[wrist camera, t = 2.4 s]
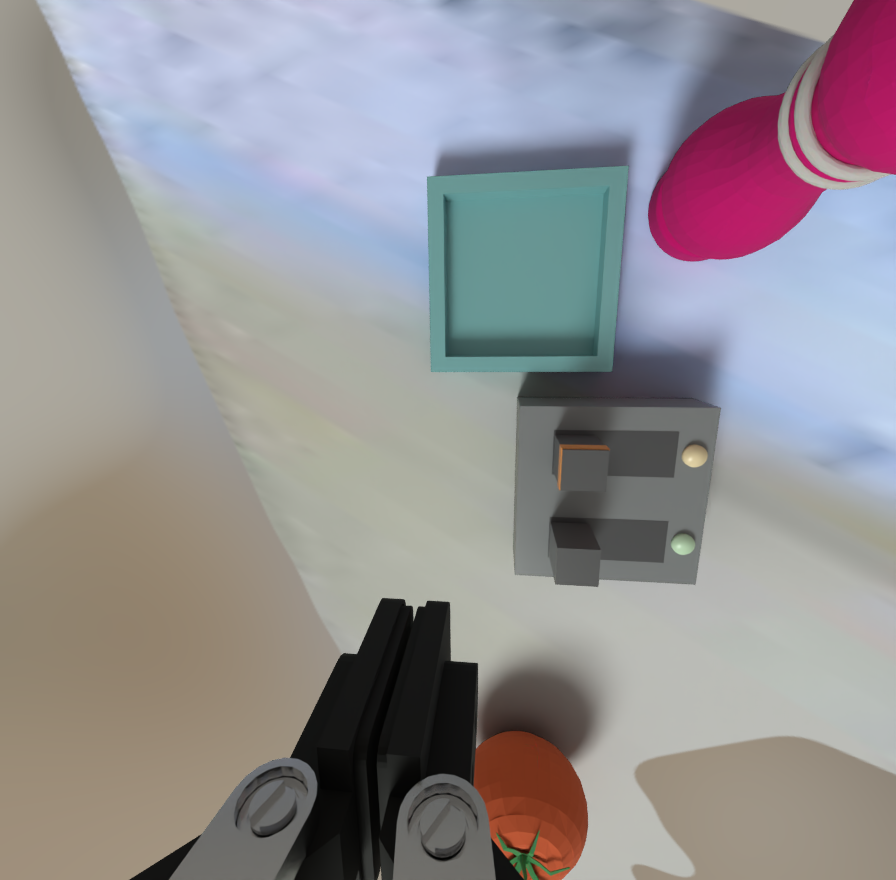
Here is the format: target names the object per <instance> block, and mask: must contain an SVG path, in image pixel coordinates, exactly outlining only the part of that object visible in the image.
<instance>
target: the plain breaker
mask: <svg viewBox="0 0 896 880" xmlns="http://www.w3.org/2000/svg"><path fill="white" fill-rule="evenodd" d="M549 558H550V562H551V567H552V571H553V576H554V580H555V584H559V585H577V586H594V587H598V584H599V572H600V560H601V548H600V546H599V544H598V542H597V540H596V538H595V536H594V533H593V531H592V529H591V527H590V525H589V524H585V523H560V522H550V542H549Z"/></svg>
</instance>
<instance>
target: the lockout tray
mask: <svg viewBox="0 0 896 880" xmlns="http://www.w3.org/2000/svg"><path fill="white" fill-rule="evenodd" d="M628 169H629V166H614V167H596V168H578V169H559V170H541V171H523V172H504V173H486V174H468V175H450V176H431V177H427V197H428V247H429V297H430V347H431V372H612V367H613V355H614V343H615V330H616V318H617V305H618V293H619V280H620V268H621V256H622V243H623V231H624V218H625V206H626V193H627V181H628Z"/></svg>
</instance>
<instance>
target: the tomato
mask: <svg viewBox="0 0 896 880" xmlns="http://www.w3.org/2000/svg"><path fill="white" fill-rule="evenodd" d="M474 788H476V789H477V791H478V792H479V794H480V796H481V797H482V799H483V801H484V802H485V806H486V810H487V813H488V818H489V826H490V835H491V838H492V840H493V841H494V842H495V843H496V845H497V846H498V847H499V849H500V850H501V851H502V852H503V854H504V855H505V856H506V857H507V859H508V860H509V861H510V862H511V864H512V865H513V866H514V868H515V869H516V870H517V871H518V873H519V874H520V875H521V876H522V878H523V879H524V880H561V879H563V878H564V877H565V876H566V875H567V874H568V873H569V872H570V870H571V869H572V868H573V867H574V866H575V865H576V863H577V862H578V860H579V858H580V856H581V853H582V851H583V848H584V845H585V841H586V837H587V829H588V812H587V802H586V798H585V795H584V792H583V788H582V785H581V781H580V779H579V778H578V776H577V774H576V772H575V770H574V768H573V767H572V765H571V763H570V762H569V761H568V759H567V758H566V757H565V756H564V755H563V754H562V753H561V752H560V750H559V749H558V748H557V747H555V746H554V745H553V744H551V743H550V742H548V741H547V740H545V739H543V738H541V737H538V736H536V735H534V734H531V733H529V732H523V731H508V732H503V733H500V734H497V735H495V736H493V737H491V738H489V739H487V740H485V741H484V742H483V743H482V744H480V745H479V746H478V747H477V749H476V752H475V771H474Z"/></svg>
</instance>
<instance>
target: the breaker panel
mask: <svg viewBox="0 0 896 880" xmlns="http://www.w3.org/2000/svg"><path fill="white" fill-rule="evenodd" d="M720 410H721V408H720V407H717V406H714V405H711V404H708V403H705V402H702V401H699V400H696V399H693V398H562V397H517V428H516V464H515V499H514V534H513V554H514V570H515V575H528V576H546V577H554V576H553V571H552V567H551V562H550V558H549V542H550V522H560V523H585V524H589V525H590V527H591V529H592V531H593V533H594V536H595V538H596V540H597V542H598V544H599V546H600V548H601V560H600V572H599V579H602V580H620V581H639V582H657V583H676V584H694V585H695V584H696V577H697V570H698V563H699V556H700V549H701V542H702V535H703V528H704V521H705V514H706V507H707V501H708V494H709V487H710V480H711V473H712V466H713V459H714V452H715V445H716V438H717V431H718V424H719V417H720ZM555 435H586V436H596V437H597V438H598V439H599V440H600V441H601V442H602V443H603V444H604V445H606V446H607V447H608V448H609V449H610V450H609V463H608V475H607V487H606V492H594V491H561V490H559V488H558V486H557V483H558V482H557V480H556V477H555V475H554V472H553V462H554V442H555Z"/></svg>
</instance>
